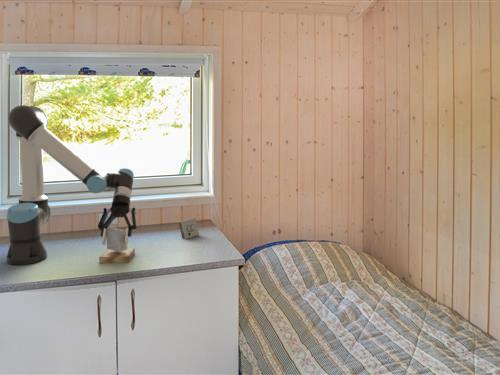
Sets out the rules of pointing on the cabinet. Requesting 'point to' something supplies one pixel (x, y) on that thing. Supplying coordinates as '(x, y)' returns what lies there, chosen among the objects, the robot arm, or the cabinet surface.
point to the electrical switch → (189, 228)
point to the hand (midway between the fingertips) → (114, 243)
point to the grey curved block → (116, 239)
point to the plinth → (116, 256)
